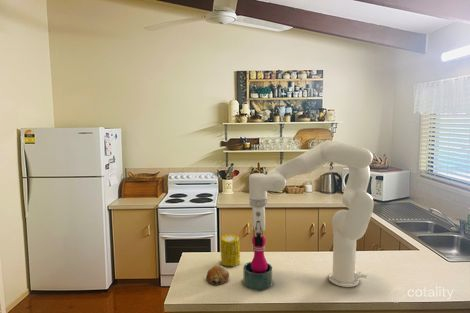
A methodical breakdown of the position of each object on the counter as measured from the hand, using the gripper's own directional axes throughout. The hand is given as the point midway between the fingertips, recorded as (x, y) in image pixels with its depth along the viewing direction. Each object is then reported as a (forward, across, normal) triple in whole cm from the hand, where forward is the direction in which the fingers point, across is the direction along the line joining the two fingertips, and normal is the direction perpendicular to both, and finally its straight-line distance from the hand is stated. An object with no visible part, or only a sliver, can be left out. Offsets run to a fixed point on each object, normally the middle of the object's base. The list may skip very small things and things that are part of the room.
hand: (258, 242), depth 139 cm
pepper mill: (+15, 0, 0) cm, 15 cm away
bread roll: (+18, +1, +19) cm, 26 cm away
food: (+18, +18, +15) cm, 30 cm away
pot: (+18, 0, +1) cm, 18 cm away
